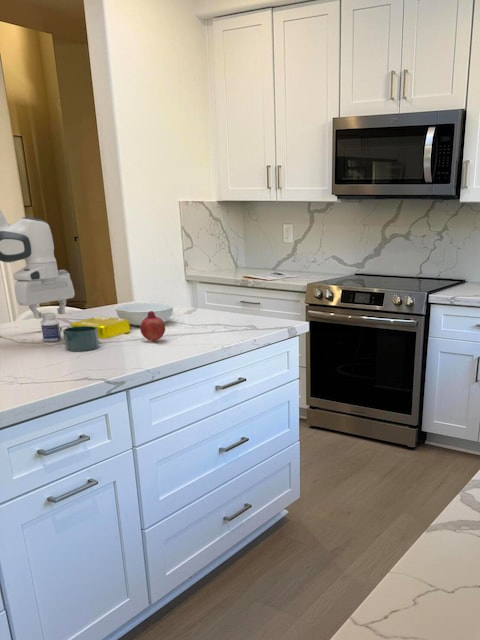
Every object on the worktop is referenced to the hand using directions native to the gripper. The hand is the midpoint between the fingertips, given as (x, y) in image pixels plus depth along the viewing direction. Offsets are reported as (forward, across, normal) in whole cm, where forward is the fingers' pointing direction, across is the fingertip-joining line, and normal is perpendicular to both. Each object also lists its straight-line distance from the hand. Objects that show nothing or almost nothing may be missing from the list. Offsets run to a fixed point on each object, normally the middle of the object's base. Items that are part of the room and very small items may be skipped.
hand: (50, 316), depth 196 cm
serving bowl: (+10, -41, +4) cm, 42 cm away
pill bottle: (+9, 0, 0) cm, 9 cm away
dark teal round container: (+9, +1, +13) cm, 16 cm away
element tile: (+9, -19, +2) cm, 21 cm away
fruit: (+10, -18, +26) cm, 33 cm away
